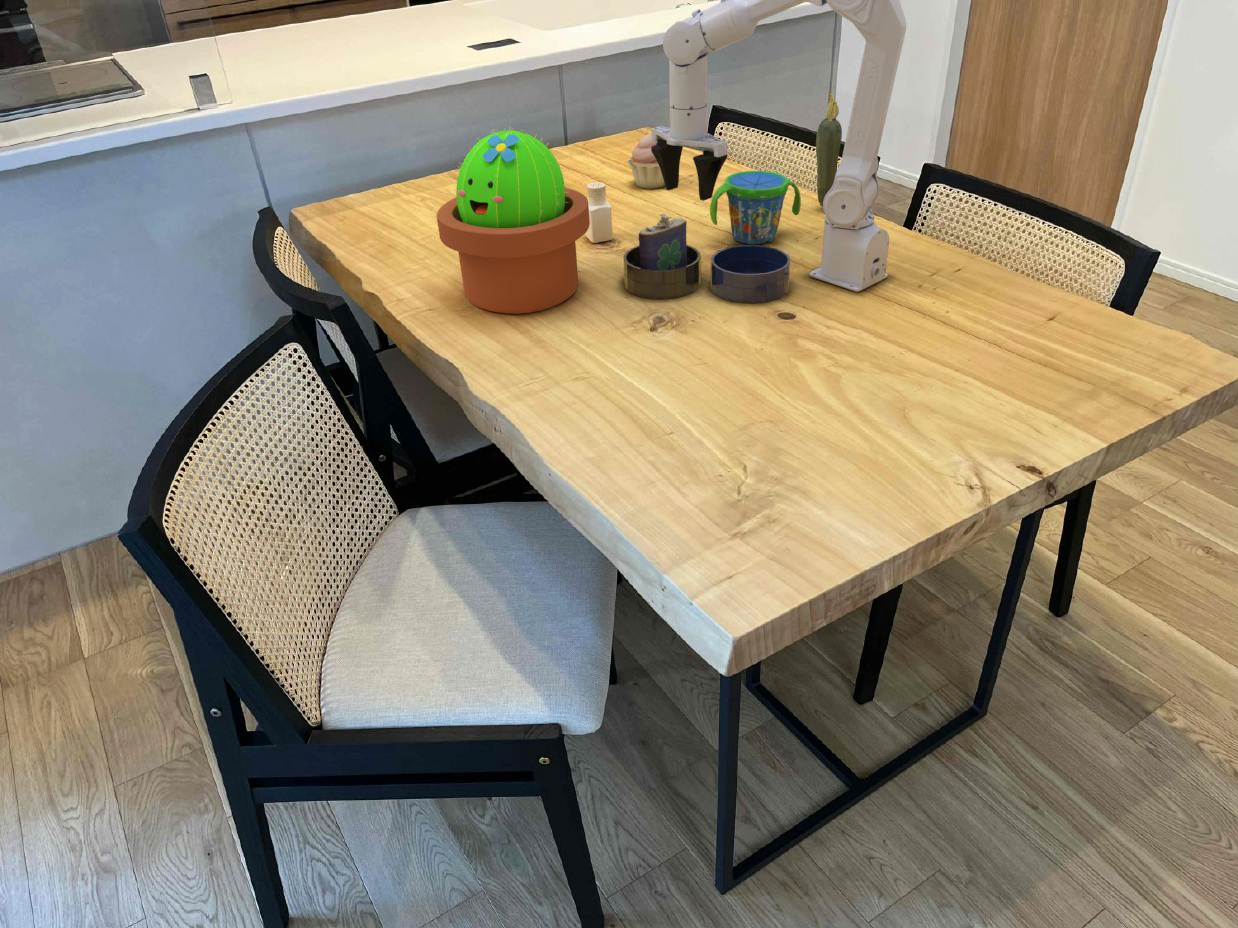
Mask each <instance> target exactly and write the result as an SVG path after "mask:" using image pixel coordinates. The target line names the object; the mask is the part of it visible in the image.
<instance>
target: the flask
mask: <svg viewBox="0 0 1238 928" xmlns="http://www.w3.org/2000/svg"><path fill="white" fill-rule="evenodd" d="M659 216H660V218H661V219H660V220H658V222H657V223H656V225H655V224H654V225H652V227H649V226H646V227H645V228H643V229H642V230H640V231H639V232H638V246H639V250H640V268H642V269H649V270H671V269H677V268H681V267H685V266H687V256H686V248H687V245H688V244H687V220H686V219H684V218H678V217H676V218H673V219H672V216H668V215H666V213H662V214H659ZM670 219H671V220H670Z"/></svg>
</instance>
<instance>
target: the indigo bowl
mask: <svg viewBox="0 0 1238 928" xmlns="http://www.w3.org/2000/svg"><path fill="white" fill-rule="evenodd" d="M791 263H792V259H791V257H790V255H789V254H788V253H786V251H783V250H782V249H779V248H777V247H772V246H767V245H761V244H753V245H750V244H741V245H740V244H739V245H734V246H729V247H725V248H722V249H720V250H718V251H716V252H714V254H712V256H711V257H710V280H709V281H710V283H709V285H710V290H711V293H713V294H714V295H715V296H717V297H718V298H720V299H722V300H725V301H728V302H733V303H738V304H739V303H740V304H761V303H769V302H772V301H775V300H778V299H780V298H782V297H783V296H785V295H786V294H787V293H788V291H789V287H790V280H791V279H790V278H791Z"/></svg>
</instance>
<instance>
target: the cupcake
mask: <svg viewBox="0 0 1238 928" xmlns="http://www.w3.org/2000/svg"><path fill="white" fill-rule="evenodd" d="M656 143H657V142H655V141H652V132H649V133H648V134H646V135H644V136H643V137H641V138H640V140H639V141H638V143H637V144H636V146H635V147H634V148H633V150H632V152H631V157H630V158H629V159H628V160H626V162H627V164H628V166H629V167H630V169H631V172H632V175H633V179H634V184H635V185H636V186H637V187H638V188H640V189H648V190H652V189H653V190H654V189H659V188H663V187H665V183H664V179H663V176H662V172H661V169H660V167H659V164H658V162H657V160H656V158H655V156H654V155H653V153H652V152H651V147H652V146H654V145H656Z"/></svg>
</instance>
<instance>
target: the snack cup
mask: <svg viewBox="0 0 1238 928" xmlns="http://www.w3.org/2000/svg"><path fill="white" fill-rule="evenodd" d="M789 186H791V187H792V188H793V190H794V198H793V203H792V207H791V213H792V214H793V215H795V216H798V215H800V211H801V206H802V205H801V204H802V199H801V192H800V189H799V187H798V186H797V184H796V183H795V182H793V181H792V180H790V179H789V178H788V177H787V176H785V175H784V174H782V173H778V172H774V171H766V170H743V171H739V172H735V173H732V174H730V175H728V176H727V177H725V181H724V183H722V184H721V185H720V186H719V187H718V188H717V189H716V190H715V192H714V194H712V198H711V201H710V207H709V215H710V219H711V222H712V224H713V225H715V226H717V225H718V219H717V216H718V202H719V199H720V197H722V195H724V194H726V196H727V201H728V212H729V214H728V215H729V220H730V229H731V235H732V238H733V240H734V241H737V242H739V243H742V244H745V245H761V244H765V243H772V242H773V241H774V239H775V238H776V237H777V235H778V229H779V225H780V221H781V217H782V209H783V207H784V200H785V197H786V194H787V192H788V191H789V190H788V189H789Z"/></svg>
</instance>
